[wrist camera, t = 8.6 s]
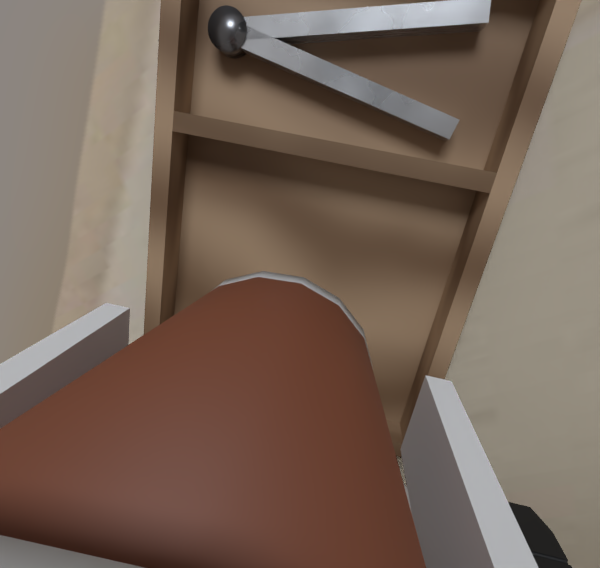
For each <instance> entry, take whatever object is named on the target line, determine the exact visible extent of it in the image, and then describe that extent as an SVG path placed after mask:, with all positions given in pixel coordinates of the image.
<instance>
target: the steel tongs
mask: <svg viewBox="0 0 600 568" xmlns="http://www.w3.org/2000/svg"><path fill="white" fill-rule="evenodd" d="M490 6H491V0H448V1H436V2H423V3H410V4H398V5H385V6H373V7H360V8H348V9H335V10H323V11H310V12H298V13H285V14H273V15H260V16H247V17H244V16H243V15H242V14H241V12H240V11H239V10H238V9H236V8H235V7H232V6H228V5H224V6H221V7H219V8H217V9H216V10H215V11H214V12H213V13H212V14H211V16H210V18H209V21H208V35H209V38H210V40H211V42H212V43H213V45H214V46H215V47H216V48H217V49H219V50H220V51H221V52H222V53H223V54H225V55H226V56H227V57H230V58H233V59H238V58H241V57H243V56H245V55H246V54H248V55H250V56H252V57H255V58H257V59H259V60H261V61H264V62H266V63H268V64H271V65H273V66H275V67H277V68H280V69H282V70H284V71H286V72H289V73H291V74H293V75H296V76H298V77H300V78H302V79H305V80H307V81H309V82H311V83H314V84H316V85H318V86H320V87H323V88H325V89H327V90H330V91H332V92H334V93H336V94H339V95H341V96H343V97H345V98H348V99H350V100H352V101H354V102H357V103H359V104H361V105H364V106H366V107H368V108H370V109H373V110H375V111H377V112H379V113H382V114H384V115H386V116H389V117H391V118H393V119H395V120H398V121H400V122H402V123H404V124H407V125H409V126H411V127H413V128H416V129H418V130H420V131H423V132H425V133H427V134H429V135H432V136H434V137H436V138H438V139H441V140H443V141H445V140H449V139H450V137H451V136H452V134H453V132H454V130H455V128H456V126H457V124H458V122H459V119H457V118H454V117H452V116H450V115H448V114H445V113H443V112H441V111H438V110H436V109H434V108H432V107H429V106H427V105H425V104H423V103H420V102H418V101H416V100H414V99H411V98H409V97H407V96H405V95H402V94H400V93H398V92H395V91H393V90H391V89H389V88H386V87H384V86H382V85H380V84H377V83H375V82H373V81H371V80H368V79H366V78H364V77H361V76H359V75H357V74H355V73H352V72H350V71H348V70H346V69H343V68H341V67H339V66H337V65H334V64H332V63H330V62H327V61H325V60H323V59H321V58H318V57H316V56H314V55H312V54H309V53H307V52H305V51H303V50H300V49H298V48H296V47H293V46H291V45H289V44H303V43H317V42H332V41H346V40H361V39H375V38H390V37H405V36H419V35H434V34H448V33H463V32H477V31H481V30H482V29H483V28H484V27H485V26H486V25H487V24H488V23H489V15H490Z"/></svg>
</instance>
